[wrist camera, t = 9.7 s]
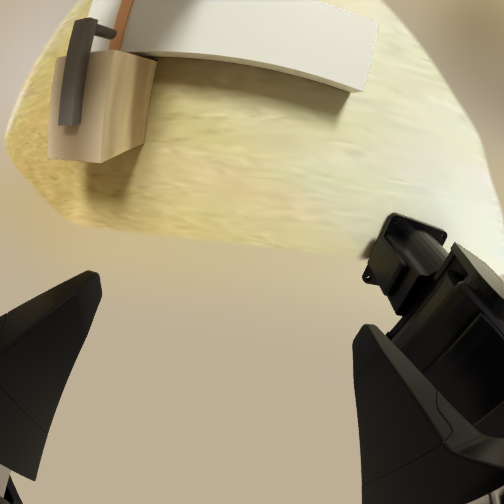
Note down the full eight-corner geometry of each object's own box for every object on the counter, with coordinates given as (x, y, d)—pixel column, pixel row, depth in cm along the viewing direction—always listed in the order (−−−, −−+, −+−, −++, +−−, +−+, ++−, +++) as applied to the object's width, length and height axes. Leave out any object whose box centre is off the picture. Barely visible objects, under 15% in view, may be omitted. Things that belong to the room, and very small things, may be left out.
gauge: (163, 37, 13) (115, 12, 7) (144, 143, 17) (92, 167, 11) (113, 39, 13) (54, 26, 7) (98, 139, 17) (39, 162, 11)
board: (365, 31, 12) (380, 22, 10) (350, 92, 15) (364, 91, 12) (112, 2, 11) (93, -7, 8) (97, 59, 13) (76, 56, 11)
